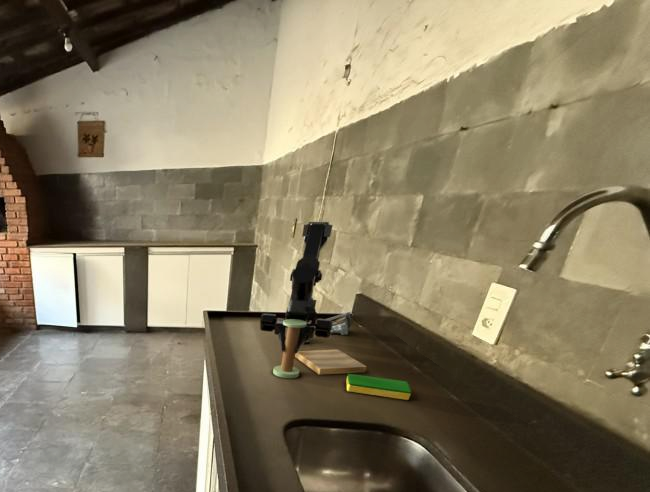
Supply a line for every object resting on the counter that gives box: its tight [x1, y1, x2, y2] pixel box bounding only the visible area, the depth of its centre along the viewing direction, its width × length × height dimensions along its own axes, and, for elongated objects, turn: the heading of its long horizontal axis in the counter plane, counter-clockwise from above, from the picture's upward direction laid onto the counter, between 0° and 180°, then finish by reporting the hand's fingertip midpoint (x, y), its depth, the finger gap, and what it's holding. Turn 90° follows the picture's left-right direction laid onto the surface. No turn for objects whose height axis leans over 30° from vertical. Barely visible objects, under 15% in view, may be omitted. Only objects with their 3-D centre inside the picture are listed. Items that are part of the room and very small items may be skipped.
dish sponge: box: [345, 373, 412, 401], centre depth 109 cm, size 7×14×2 cm, turn 65°
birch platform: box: [295, 349, 368, 376], centre depth 126 cm, size 15×14×2 cm
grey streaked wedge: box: [326, 311, 353, 336], centre depth 154 cm, size 10×7×12 cm
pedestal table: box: [272, 319, 307, 379], centre depth 117 cm, size 7×7×15 cm
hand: (289, 351), depth 116 cm, fingers closed on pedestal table, 3 cm apart
